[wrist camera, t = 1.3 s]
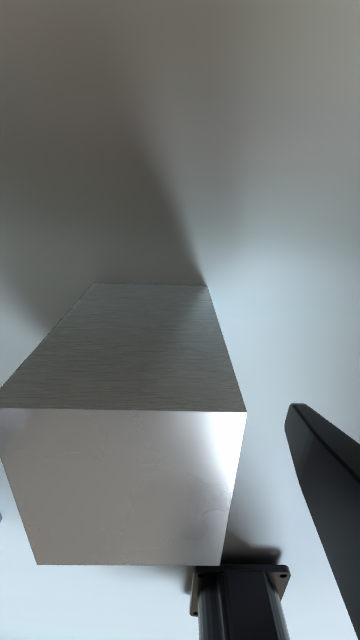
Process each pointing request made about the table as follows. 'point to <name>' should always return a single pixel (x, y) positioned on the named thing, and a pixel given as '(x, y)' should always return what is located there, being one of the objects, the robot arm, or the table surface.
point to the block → (126, 431)
